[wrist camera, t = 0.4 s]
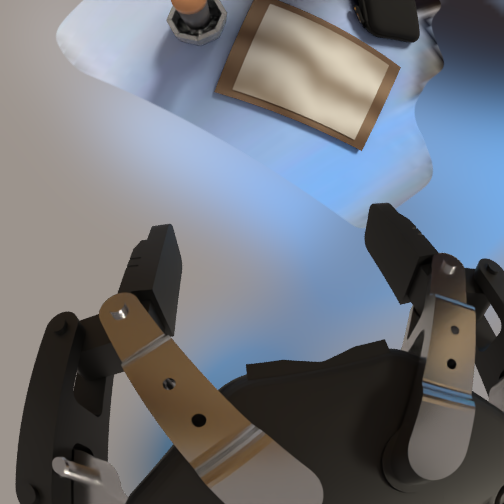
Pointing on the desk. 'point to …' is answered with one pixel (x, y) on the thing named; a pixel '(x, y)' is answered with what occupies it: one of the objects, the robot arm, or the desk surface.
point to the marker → (193, 13)
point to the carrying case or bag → (389, 19)
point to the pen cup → (204, 35)
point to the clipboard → (308, 71)
